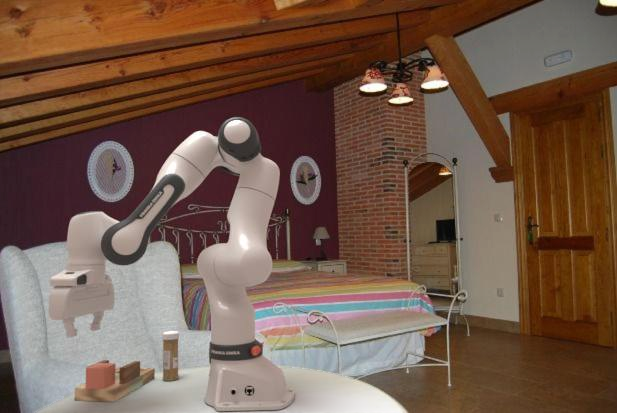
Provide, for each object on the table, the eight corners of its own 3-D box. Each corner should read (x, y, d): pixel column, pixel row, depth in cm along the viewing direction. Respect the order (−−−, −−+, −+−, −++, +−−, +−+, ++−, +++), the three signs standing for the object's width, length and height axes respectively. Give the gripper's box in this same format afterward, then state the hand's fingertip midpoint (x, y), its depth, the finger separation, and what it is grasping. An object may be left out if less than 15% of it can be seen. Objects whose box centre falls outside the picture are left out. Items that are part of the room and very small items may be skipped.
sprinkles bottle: (180, 379, 132) (180, 332, 133) (164, 382, 129) (165, 334, 131) (175, 376, 136) (176, 329, 137) (160, 378, 133) (160, 331, 134)
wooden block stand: (154, 378, 133) (154, 354, 134) (114, 401, 114) (114, 373, 114) (120, 377, 135) (120, 353, 136) (74, 400, 116) (75, 371, 116)
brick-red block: (115, 383, 119) (115, 363, 120) (103, 389, 115) (103, 368, 115) (97, 382, 120) (98, 363, 121) (85, 388, 115) (86, 368, 116)
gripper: (100, 274, 124) (98, 325, 123) (44, 279, 104) (41, 341, 103) (121, 274, 123) (120, 326, 122) (69, 279, 103) (66, 342, 101)
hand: (83, 333), depth 112 cm, fingers open, 7 cm apart
